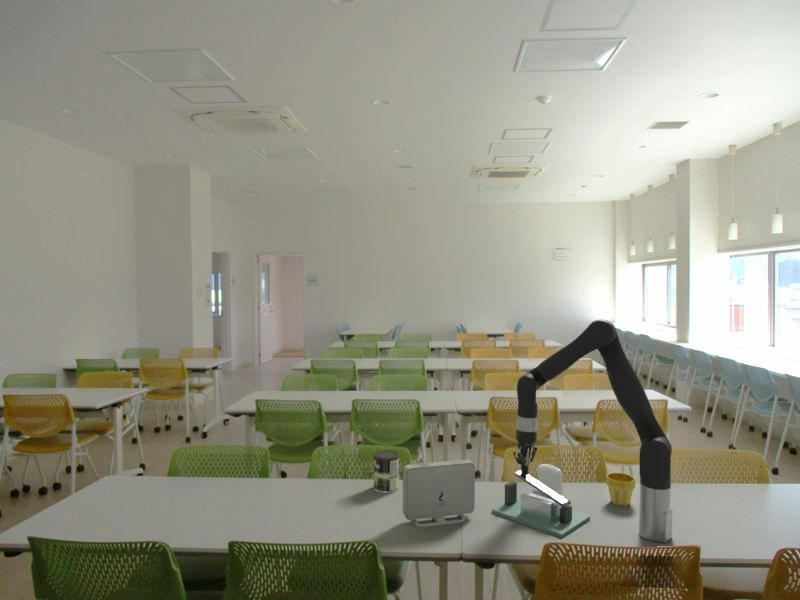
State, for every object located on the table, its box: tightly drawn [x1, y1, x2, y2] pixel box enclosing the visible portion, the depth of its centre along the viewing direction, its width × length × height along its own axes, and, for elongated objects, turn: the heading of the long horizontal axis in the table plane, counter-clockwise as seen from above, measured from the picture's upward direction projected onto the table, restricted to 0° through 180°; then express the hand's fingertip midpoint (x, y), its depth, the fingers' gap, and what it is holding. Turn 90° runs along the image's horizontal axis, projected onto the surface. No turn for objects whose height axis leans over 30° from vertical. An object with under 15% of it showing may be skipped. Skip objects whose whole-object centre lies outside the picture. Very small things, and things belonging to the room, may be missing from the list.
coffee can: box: [373, 450, 400, 494], centre depth 226 cm, size 10×10×14 cm
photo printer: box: [537, 463, 564, 496], centre depth 218 cm, size 10×4×12 cm, turn 39°
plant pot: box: [605, 472, 636, 506], centre depth 213 cm, size 10×10×10 cm
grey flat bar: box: [514, 469, 572, 508], centre depth 199 cm, size 21×4×1 cm, turn 45°
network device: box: [402, 459, 476, 528], centre depth 197 cm, size 26×9×20 cm, turn 105°
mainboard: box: [491, 494, 591, 538], centre depth 200 cm, size 28×20×1 cm
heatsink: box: [504, 480, 573, 524], centre depth 201 cm, size 24×10×7 cm, turn 45°
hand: (524, 474), depth 204 cm, fingers closed
